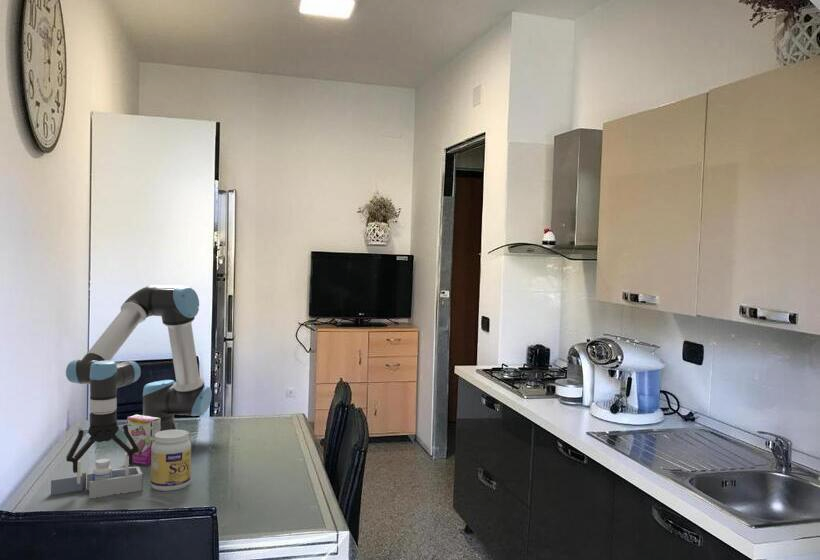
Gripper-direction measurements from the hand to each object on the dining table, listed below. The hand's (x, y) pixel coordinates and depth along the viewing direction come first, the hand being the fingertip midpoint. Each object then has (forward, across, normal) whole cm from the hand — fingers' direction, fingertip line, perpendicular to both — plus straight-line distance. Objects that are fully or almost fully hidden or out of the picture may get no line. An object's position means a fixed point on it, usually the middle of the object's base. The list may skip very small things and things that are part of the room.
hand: (103, 478), depth 195 cm
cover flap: (+4, +9, -4) cm, 11 cm away
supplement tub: (+4, -19, +4) cm, 20 cm away
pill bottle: (+4, 0, 0) cm, 4 cm away
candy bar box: (+5, -15, -23) cm, 28 cm away
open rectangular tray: (+4, -3, 0) cm, 5 cm away
